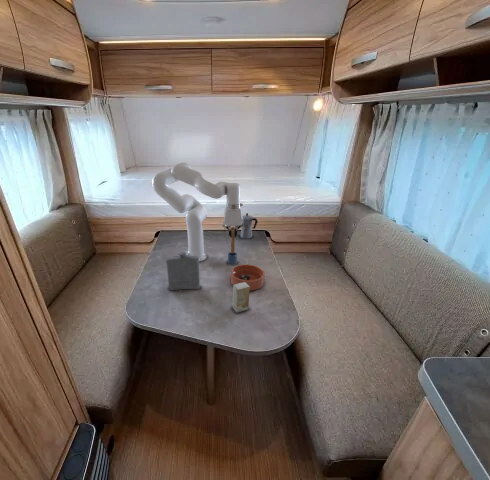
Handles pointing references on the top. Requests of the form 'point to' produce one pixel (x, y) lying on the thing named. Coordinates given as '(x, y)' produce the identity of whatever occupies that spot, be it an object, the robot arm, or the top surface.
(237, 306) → the cosmetic box
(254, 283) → the bowl
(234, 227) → the stick
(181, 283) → the hip flask
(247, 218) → the coffeepot
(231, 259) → the cup
